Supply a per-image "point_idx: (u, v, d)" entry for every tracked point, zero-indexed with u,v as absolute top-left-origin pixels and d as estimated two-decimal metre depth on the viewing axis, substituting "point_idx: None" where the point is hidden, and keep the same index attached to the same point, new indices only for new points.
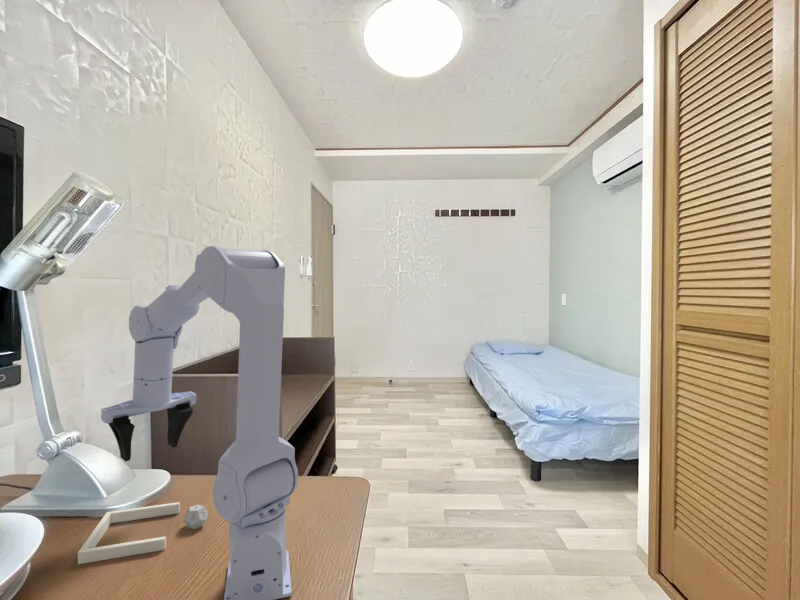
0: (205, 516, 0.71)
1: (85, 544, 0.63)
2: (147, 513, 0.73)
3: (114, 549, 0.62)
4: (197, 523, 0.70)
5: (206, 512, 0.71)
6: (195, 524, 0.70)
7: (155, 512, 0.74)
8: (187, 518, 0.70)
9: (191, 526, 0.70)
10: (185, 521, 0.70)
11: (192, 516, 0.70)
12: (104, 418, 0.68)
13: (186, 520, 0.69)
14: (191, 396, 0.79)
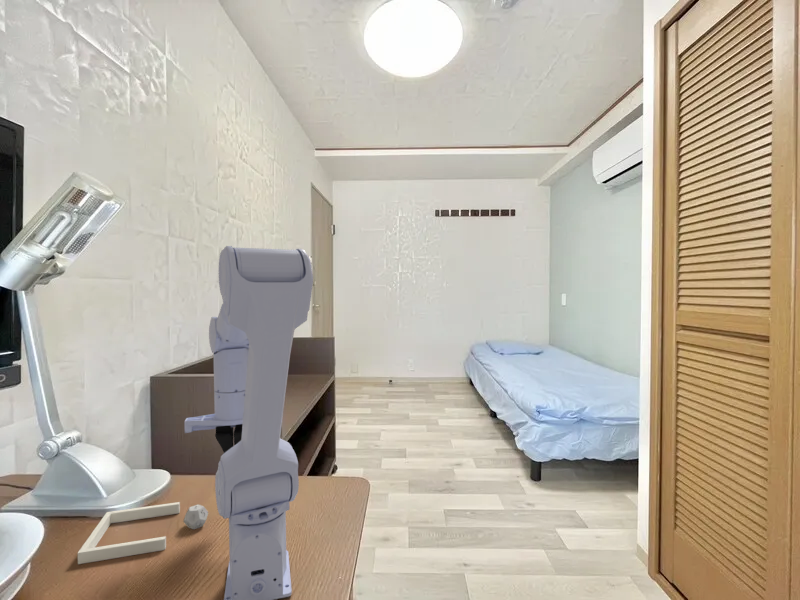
0: (205, 516, 0.71)
1: (85, 544, 0.63)
2: (147, 513, 0.73)
3: (114, 549, 0.62)
4: (197, 523, 0.70)
5: (206, 512, 0.71)
6: (195, 524, 0.70)
7: (155, 512, 0.74)
8: (187, 518, 0.70)
9: (191, 526, 0.70)
10: (185, 521, 0.70)
11: (192, 516, 0.70)
12: (185, 427, 0.70)
13: (186, 520, 0.69)
14: None
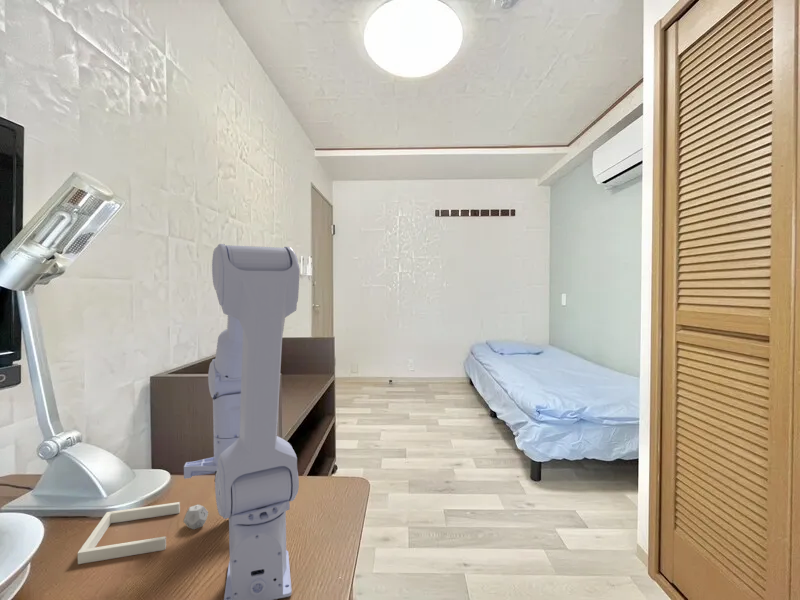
0: (205, 516, 0.71)
1: (85, 544, 0.63)
2: (147, 513, 0.73)
3: (114, 549, 0.62)
4: (197, 523, 0.70)
5: (206, 512, 0.71)
6: (195, 524, 0.70)
7: (155, 512, 0.74)
8: (187, 518, 0.70)
9: (191, 526, 0.70)
10: (185, 521, 0.70)
11: (192, 516, 0.70)
12: (184, 473, 0.70)
13: (186, 520, 0.69)
14: None
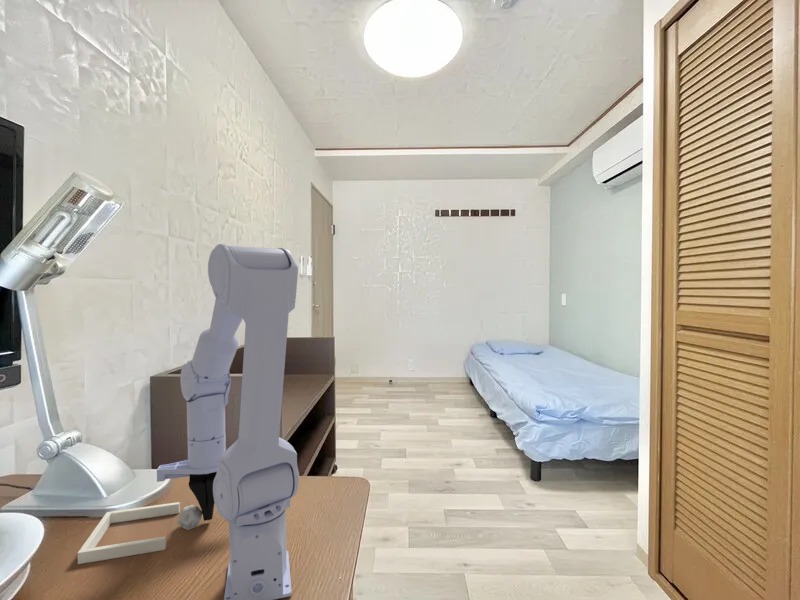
0: (199, 516, 0.71)
1: (85, 544, 0.63)
2: (147, 513, 0.73)
3: (114, 549, 0.62)
4: (191, 523, 0.70)
5: (200, 512, 0.71)
6: (189, 524, 0.69)
7: (155, 512, 0.74)
8: (181, 518, 0.69)
9: (185, 526, 0.69)
10: (179, 521, 0.69)
11: (186, 516, 0.70)
12: (157, 476, 0.69)
13: (180, 520, 0.69)
14: None
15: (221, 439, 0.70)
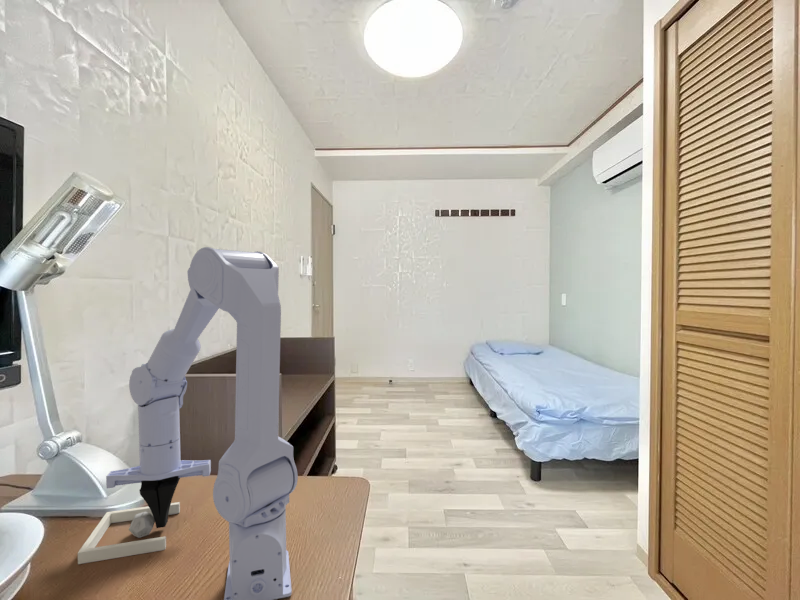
0: (152, 524, 0.69)
1: (85, 544, 0.63)
2: None
3: (114, 549, 0.62)
4: (143, 531, 0.67)
5: (153, 519, 0.69)
6: (140, 532, 0.67)
7: None
8: (132, 526, 0.67)
9: (136, 534, 0.67)
10: (130, 529, 0.67)
11: (137, 524, 0.67)
12: None
13: (131, 528, 0.67)
14: (202, 466, 0.70)
15: (174, 444, 0.68)
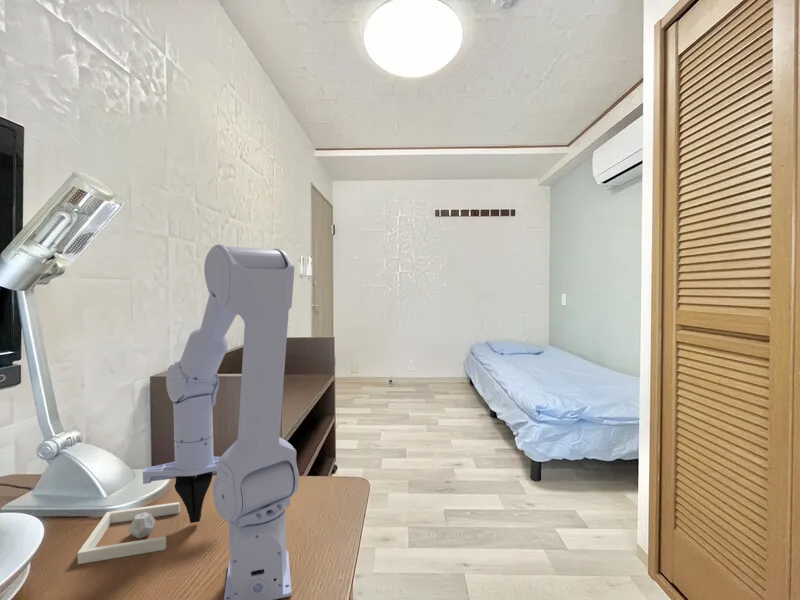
0: (152, 524, 0.69)
1: (85, 544, 0.63)
2: None
3: (114, 549, 0.62)
4: (143, 532, 0.67)
5: (153, 520, 0.69)
6: (140, 533, 0.67)
7: (155, 512, 0.74)
8: (132, 527, 0.67)
9: (136, 535, 0.67)
10: (130, 530, 0.67)
11: (137, 524, 0.67)
12: None
13: (131, 529, 0.67)
14: None
15: (208, 440, 0.70)
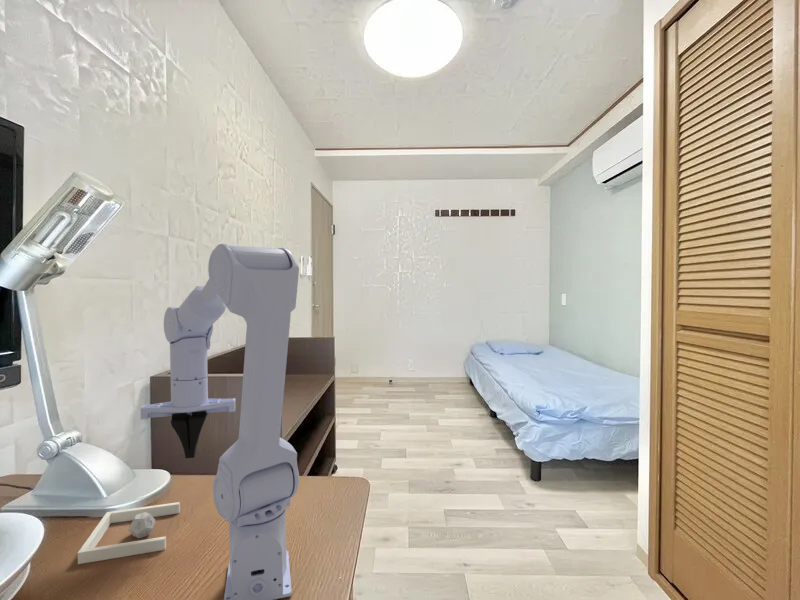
0: (152, 524, 0.69)
1: (85, 544, 0.63)
2: None
3: (114, 549, 0.62)
4: (143, 532, 0.67)
5: (153, 520, 0.69)
6: (141, 533, 0.67)
7: (155, 512, 0.74)
8: (132, 527, 0.67)
9: (136, 535, 0.67)
10: (130, 530, 0.67)
11: (137, 524, 0.67)
12: (141, 414, 0.72)
13: (131, 529, 0.67)
14: (228, 402, 0.75)
15: (203, 380, 0.74)
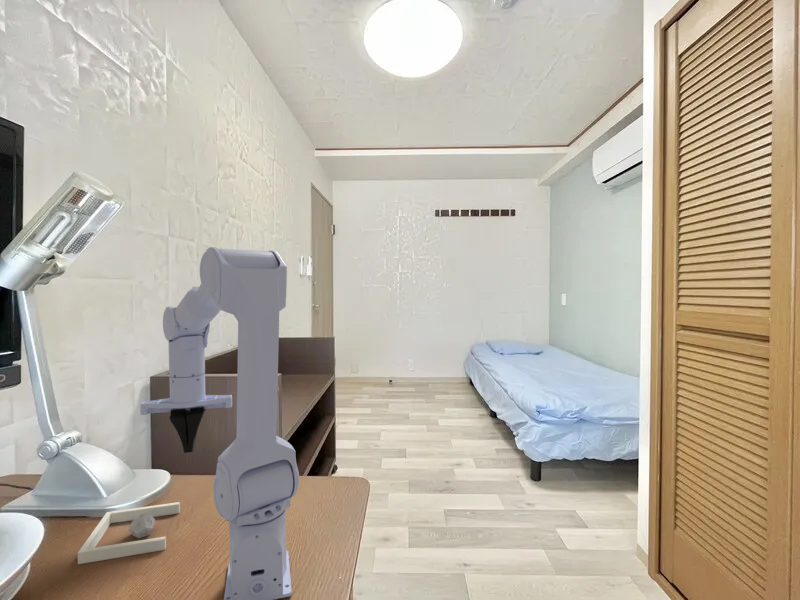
0: (152, 524, 0.69)
1: (85, 544, 0.63)
2: None
3: (114, 549, 0.62)
4: (143, 532, 0.67)
5: (153, 520, 0.69)
6: (140, 533, 0.67)
7: (155, 512, 0.74)
8: (132, 527, 0.67)
9: (136, 535, 0.67)
10: (130, 530, 0.67)
11: (137, 524, 0.67)
12: (141, 410, 0.75)
13: (131, 529, 0.67)
14: (225, 399, 0.78)
15: (200, 377, 0.76)
